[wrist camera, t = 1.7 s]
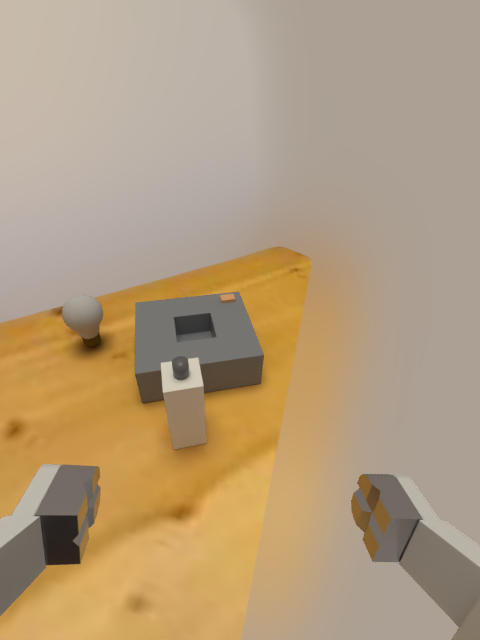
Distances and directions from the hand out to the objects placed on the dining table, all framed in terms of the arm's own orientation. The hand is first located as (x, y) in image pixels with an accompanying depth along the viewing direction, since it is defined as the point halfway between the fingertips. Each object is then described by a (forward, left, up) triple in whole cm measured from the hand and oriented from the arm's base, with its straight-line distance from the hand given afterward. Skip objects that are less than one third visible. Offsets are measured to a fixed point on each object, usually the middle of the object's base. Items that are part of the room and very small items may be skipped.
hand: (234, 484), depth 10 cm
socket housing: (+2, +35, -31) cm, 47 cm away
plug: (-1, +21, -31) cm, 37 cm away
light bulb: (-15, +41, -31) cm, 54 cm away
